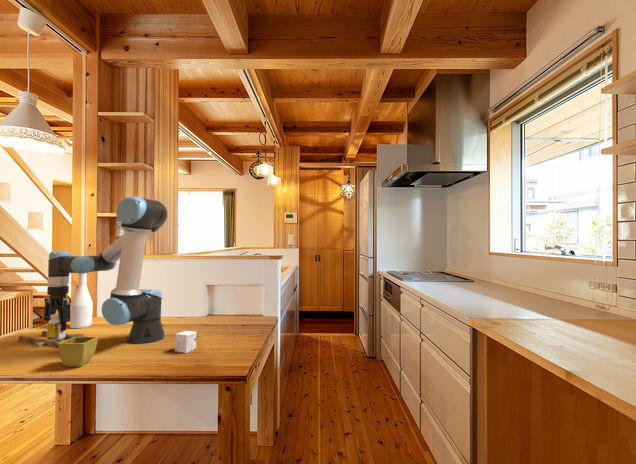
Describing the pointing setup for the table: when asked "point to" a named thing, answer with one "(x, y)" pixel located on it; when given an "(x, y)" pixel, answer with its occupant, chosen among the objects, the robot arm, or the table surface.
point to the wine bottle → (81, 305)
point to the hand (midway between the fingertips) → (56, 337)
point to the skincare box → (185, 341)
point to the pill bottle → (53, 328)
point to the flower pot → (77, 350)
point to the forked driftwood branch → (43, 342)
